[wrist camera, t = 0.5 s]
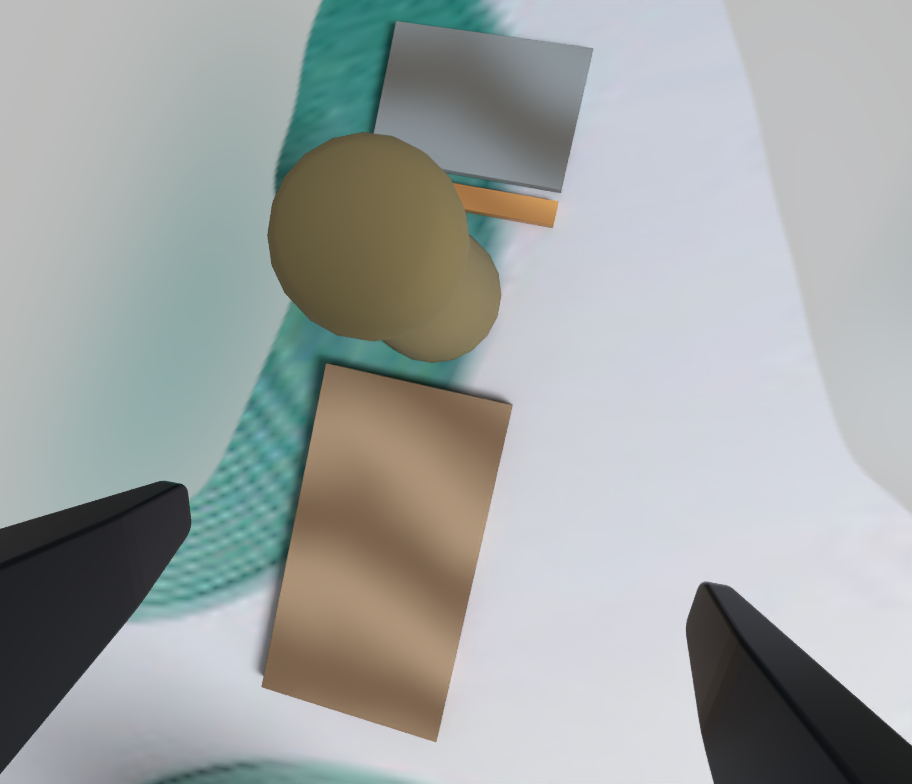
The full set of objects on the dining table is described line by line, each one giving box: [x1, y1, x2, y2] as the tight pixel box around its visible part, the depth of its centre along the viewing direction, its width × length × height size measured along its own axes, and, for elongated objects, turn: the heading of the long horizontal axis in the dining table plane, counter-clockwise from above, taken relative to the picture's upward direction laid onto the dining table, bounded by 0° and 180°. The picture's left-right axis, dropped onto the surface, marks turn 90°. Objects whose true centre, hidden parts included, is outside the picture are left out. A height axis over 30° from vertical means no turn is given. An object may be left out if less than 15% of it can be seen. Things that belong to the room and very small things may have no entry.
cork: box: [268, 132, 501, 363], centre depth 17 cm, size 6×6×11 cm
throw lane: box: [262, 21, 593, 742], centre depth 22 cm, size 31×8×1 cm, turn 168°
